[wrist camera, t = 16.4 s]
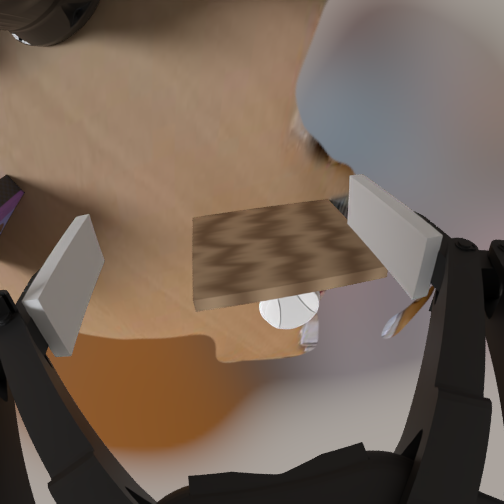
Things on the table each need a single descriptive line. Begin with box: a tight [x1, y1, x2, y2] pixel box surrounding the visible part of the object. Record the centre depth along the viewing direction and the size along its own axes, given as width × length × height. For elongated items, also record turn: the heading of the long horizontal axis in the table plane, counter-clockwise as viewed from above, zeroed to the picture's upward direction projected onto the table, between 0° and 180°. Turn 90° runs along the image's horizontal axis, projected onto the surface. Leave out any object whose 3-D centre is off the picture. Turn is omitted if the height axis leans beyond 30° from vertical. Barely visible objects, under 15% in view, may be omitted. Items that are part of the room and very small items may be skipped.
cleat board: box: [193, 199, 388, 312], centre depth 45 cm, size 22×13×20 cm, turn 94°
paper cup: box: [259, 291, 320, 329], centre depth 44 cm, size 8×8×14 cm
